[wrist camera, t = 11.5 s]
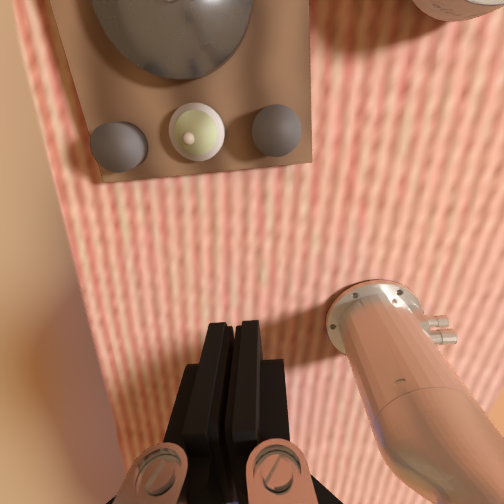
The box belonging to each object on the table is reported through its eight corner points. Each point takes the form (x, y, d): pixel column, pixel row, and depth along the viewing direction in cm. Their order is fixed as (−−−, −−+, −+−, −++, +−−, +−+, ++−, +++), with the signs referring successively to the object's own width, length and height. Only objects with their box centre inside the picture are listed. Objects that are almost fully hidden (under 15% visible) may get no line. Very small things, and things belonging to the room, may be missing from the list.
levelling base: (302, -126, 25) (311, -184, 20) (308, 158, 34) (316, 167, 29) (39, -84, 26) (-12, -128, 22) (113, 177, 36) (89, 189, 31)
